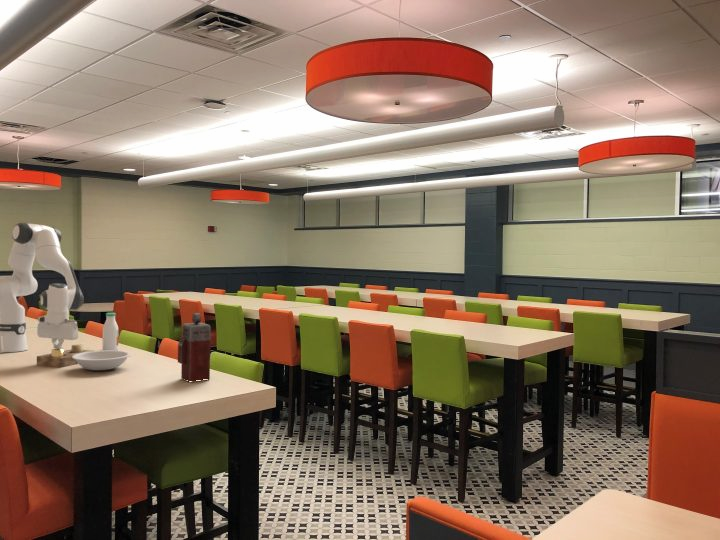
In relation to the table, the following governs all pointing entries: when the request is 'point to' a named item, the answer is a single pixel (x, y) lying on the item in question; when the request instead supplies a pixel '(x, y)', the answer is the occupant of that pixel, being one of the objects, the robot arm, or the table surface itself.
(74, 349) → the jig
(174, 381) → the table surface
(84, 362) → the soup bowl
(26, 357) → the table surface
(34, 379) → the table surface
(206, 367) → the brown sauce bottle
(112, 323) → the milk bottle
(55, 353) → the bushing
